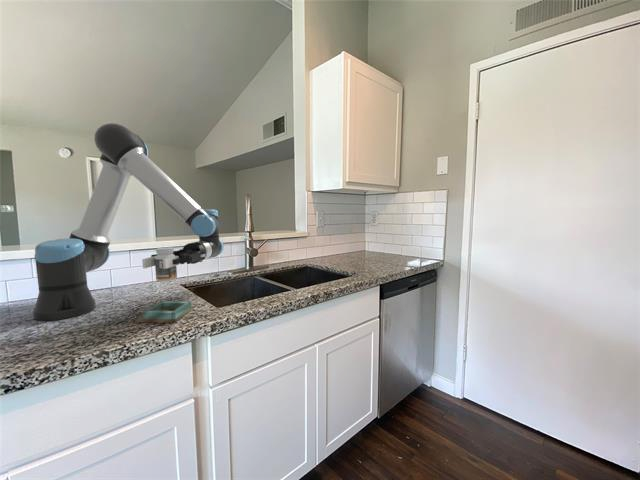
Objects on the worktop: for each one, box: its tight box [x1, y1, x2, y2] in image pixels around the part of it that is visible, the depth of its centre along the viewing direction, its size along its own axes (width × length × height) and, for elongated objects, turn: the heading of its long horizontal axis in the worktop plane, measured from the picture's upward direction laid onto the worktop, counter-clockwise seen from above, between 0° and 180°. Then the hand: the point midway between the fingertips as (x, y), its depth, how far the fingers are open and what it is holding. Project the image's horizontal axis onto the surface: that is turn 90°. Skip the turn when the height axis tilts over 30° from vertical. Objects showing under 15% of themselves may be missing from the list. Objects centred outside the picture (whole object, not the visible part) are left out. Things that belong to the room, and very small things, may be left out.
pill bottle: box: [154, 246, 178, 283], centre depth 88 cm, size 6×6×10 cm
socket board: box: [135, 301, 192, 324], centre depth 90 cm, size 12×10×3 cm
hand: (154, 263), depth 83 cm, fingers closed on pill bottle, 6 cm apart
